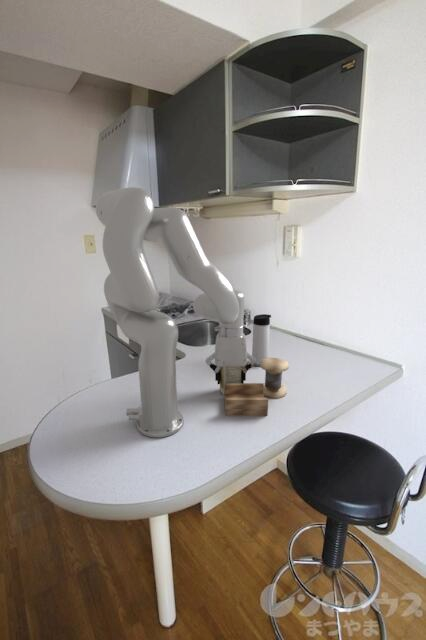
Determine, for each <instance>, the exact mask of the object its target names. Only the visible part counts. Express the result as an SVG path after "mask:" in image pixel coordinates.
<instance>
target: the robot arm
mask: <svg viewBox="0 0 426 640" xmlns="http://www.w3.org/2000/svg"><path fill="white" fill-rule="evenodd" d="M154 205H155V204H154V200H153V198H152V196H151V194H149V192H148V191H147V190H146V189H145V190H144V189H143V188H140V187H136V186H135V187H133V186H132V187H131V186H130V187H124V188H120V189H116V190H115V189H114V190H110V191H107V192H104V193H102V195H100V196H99V198H98V199H97V201H96V203H95V213H96V216H97V219H98V220H99V222H100V223H101V224H102V225H103V226H105V228H104V230H103V231H104V232H103V235H102V236H103V237H102V251H103V256H104V259H105V262H106V265H107V267H108V269H109V271H110V272H109V274H108V275H107V276H106V278H105V281H104V284H103V292H104V293H103V294H104V297H105V300H106V302H107V305H108V306H109V308H110V311H111V313H112V315H113V317H114V319H115V321H116V323H117V325H118V327H119V329H120V331H121V332H122V334H123V335H124V336H125V337H126V338H127V339H129V340H131V341H133V342H135V343H137V344H138V345H140V347H141V350H140V354H139V358H138V362H137V363H138V364H137V365H138V377H139V378H138V379H139V391H140V407H138V408H128V407H127V408H126V411H125V412H126V416H128V420H129V421H130V420H131V421H134V420H136V429H137V431H138V432H139V433H140V434H142V435H143V436H145V437H149V438H165V437H168V436H172V435H174V434H175V433H177V432H178V431H180V430H181V428H182V427H183V425H184V416H183V414H182V413H181V412H180V411H178V392H177V368H176V367H177V366H176V365H177V364H176V362H177V361H176V358H177V357H176V356H177V354H176V353H177V347H178V341H179V328H178V325H177V322H176V321H175V320H174V319H173V318H172V317H171V316H170V315H168V314H166V313H165V312H161V311H158V310H155V308H156V307H157V305H158V304H159V301H160V293H159V287H158V285H157V283H156V280H155V277H154V275H153V273H152V269H151V268H150V265H149V262H148V259H147V257H146V252H145V250H144V241H148V242H152V243H161V244H162V246H163V248H164V249H165V251H166V252H167V255H168V256H169V259H170V261H171V263H172V264H173V266H174V268H175V270H176V272H177V274H178V275H179V276H180V277H181V278H183V279H184V280H186V281H187V282H189V283H190V284H191V285H194V287H197V288H198V289H199V290H201V291H202V293H200V294H199V295H197V296H196V297H195V299H194V301H193V305H192V307H193V308H192V309H193V311H194V313H195V314H196V315H197V316H199V317H200V318H202V319H206V320H208V321H213V322H216V323H218V325H217V326H214V328H213V329H214V332H217V334H216V337H215V344H214V345H215V346H214V352H213V353H212V354H211V355H209V356H208V357H206V358H205V364H207V365H208V366H209V368H210V369H211V370H212V371H213V372H214V373H215V375H214V376H215V377H214V378H215V381H216V382H217V385H220V368H221V367H223V361H226V367H241V383H245V382H244V381H246V377H247V375H246V374H247V372H248V371H249V370H250V369H251V368H252V366H255V365H254V363H255V362H256V359H255V358H254V357H252V354H250V353H249V352H248V343H247V342H248V341H247V337H246V334H245V333H244V318H245V317H244V314H245V313H244V312H245V295H244V293H243V292H242V291H240V290H234V288H233V287H232V285H231V282H229V280H228V279H227V277H225V275H223V273H222V272H221V271H220V270H219V269H218V268H217V267H216V266H215V265H214V264H213V263H212V262H211V261H210V260H209V259H208V258H207V256H206V254H205V251H204V248H203V247H202V245H201V242H200V241H199V238H198V236H197V234H196V232H195V229H194V227H193V225H192V222H191V221H190V219H189V217H188V215H187V213H186V212H185V211H184V210H182V209H181V208H179V207H174V206H170V207H169V206H165V207H164V206H163V207H155V206H154ZM213 360H214V363H213V362H212V361H213ZM248 360H249V362H248Z"/></svg>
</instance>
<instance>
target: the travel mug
mask: <svg viewBox="0 0 426 640" xmlns="http://www.w3.org/2000/svg"><path fill="white" fill-rule="evenodd" d="M270 318H272V314H264V313H263V314H256V315H255V316H254V317H253V323H252V324H253V325H252V343H251V344H252V346H251V350H252V351H251V356H252V357H254V358H255V359H256V362H255V363H254V365H253V366H255V367H260V361H261V360H262V359H265V358H269V347H270V346H269V345H270V325H271V323H270V322H271V320H270ZM260 368H261V367H260Z"/></svg>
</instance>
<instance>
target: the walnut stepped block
mask: <svg viewBox="0 0 426 640" xmlns="http://www.w3.org/2000/svg"><path fill="white" fill-rule="evenodd" d="M263 383H264V382H263ZM263 383H255V382H253V383H252V382H251V383H250V382H249V383H245V382H244V383H225V390H224V395H223V396H224V413H225V416H229V417H230V416H232V417H233V416H234V417H235V416H236V417H237V416H238V417H239V416H241V417H242V416H246V417H247V416H255V417H256V416H268V411H269V410H268V409H269V398H268V397H265V396H264V395H263V387H264V385H263Z"/></svg>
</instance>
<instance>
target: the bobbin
mask: <svg viewBox="0 0 426 640" xmlns="http://www.w3.org/2000/svg"><path fill="white" fill-rule="evenodd" d="M289 366H290V365H289V362H288V361H287V360H285V359H283V358H280V357H279V358H278V357H268V358H265V359H262V360H261V361H260V368H261V369H262V370H264V371H265V376H264V380H265V381H264V382H263V385H264V387H263V395H264V398H268V399H281V398H283V397H284V398H285V396H287V393H288V392H287V391H288V389H287V387H286V386H285V385H284V384H282V379H283V372H286V371H287V370H289Z"/></svg>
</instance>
